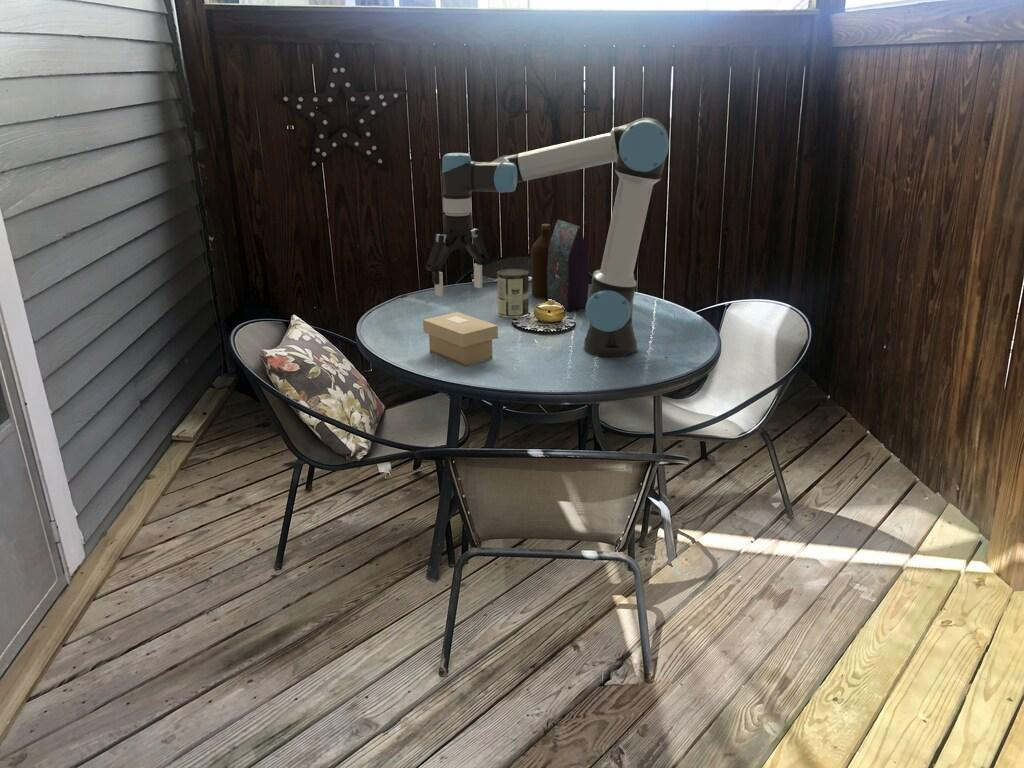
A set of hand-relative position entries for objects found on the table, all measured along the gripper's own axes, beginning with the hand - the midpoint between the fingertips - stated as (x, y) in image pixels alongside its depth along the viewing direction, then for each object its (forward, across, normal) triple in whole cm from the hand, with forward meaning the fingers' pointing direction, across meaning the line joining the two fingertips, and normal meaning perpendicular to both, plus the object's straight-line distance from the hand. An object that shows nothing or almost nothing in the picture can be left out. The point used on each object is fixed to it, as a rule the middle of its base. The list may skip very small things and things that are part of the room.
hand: (459, 291), depth 231 cm
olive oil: (+19, -64, -33) cm, 75 cm away
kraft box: (+18, 0, 0) cm, 19 cm away
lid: (+12, 0, 0) cm, 13 cm away
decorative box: (+19, -60, -18) cm, 66 cm away
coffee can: (+19, -39, -22) cm, 49 cm away
